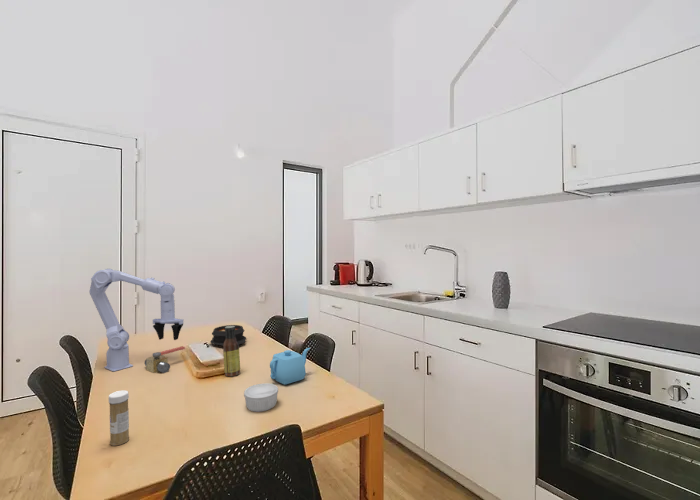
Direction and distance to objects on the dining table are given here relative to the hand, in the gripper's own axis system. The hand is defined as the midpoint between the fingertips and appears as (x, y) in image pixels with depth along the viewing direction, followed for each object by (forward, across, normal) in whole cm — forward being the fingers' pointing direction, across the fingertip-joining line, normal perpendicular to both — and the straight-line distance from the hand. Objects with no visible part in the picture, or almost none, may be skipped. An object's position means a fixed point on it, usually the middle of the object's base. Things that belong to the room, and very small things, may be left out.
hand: (168, 339), depth 161 cm
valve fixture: (+10, +2, -10) cm, 14 cm away
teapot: (+11, +64, -12) cm, 65 cm away
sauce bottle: (+11, +38, -11) cm, 40 cm away
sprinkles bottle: (+11, +32, -61) cm, 70 cm away
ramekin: (+11, +62, -35) cm, 72 cm away
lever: (+4, +4, -5) cm, 8 cm away
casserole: (+11, +12, +32) cm, 36 cm away
